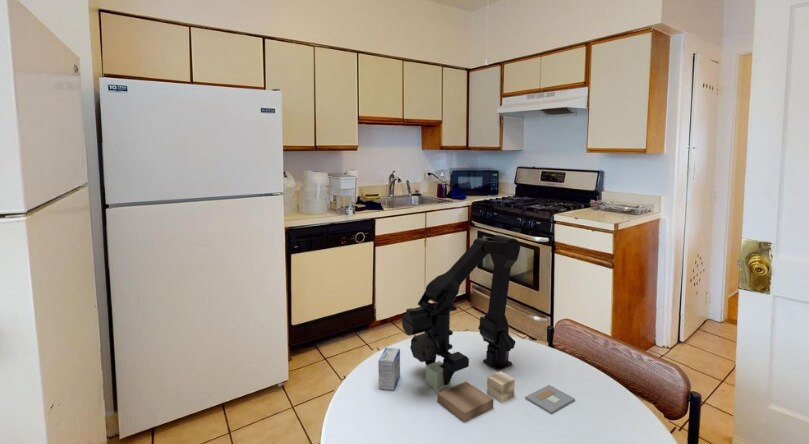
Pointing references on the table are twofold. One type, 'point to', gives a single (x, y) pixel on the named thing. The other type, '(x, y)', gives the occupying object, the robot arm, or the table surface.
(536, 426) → the table surface
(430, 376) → the sage cube
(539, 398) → the slate card
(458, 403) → the walnut block
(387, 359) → the medicine box
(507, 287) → the robot arm
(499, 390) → the birch cube
